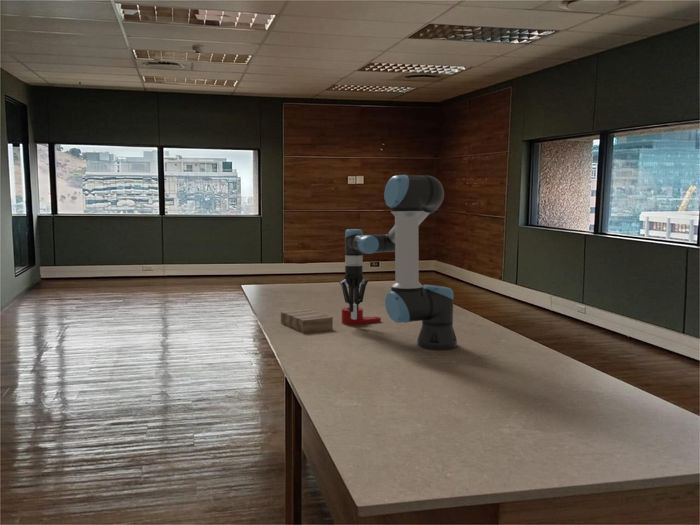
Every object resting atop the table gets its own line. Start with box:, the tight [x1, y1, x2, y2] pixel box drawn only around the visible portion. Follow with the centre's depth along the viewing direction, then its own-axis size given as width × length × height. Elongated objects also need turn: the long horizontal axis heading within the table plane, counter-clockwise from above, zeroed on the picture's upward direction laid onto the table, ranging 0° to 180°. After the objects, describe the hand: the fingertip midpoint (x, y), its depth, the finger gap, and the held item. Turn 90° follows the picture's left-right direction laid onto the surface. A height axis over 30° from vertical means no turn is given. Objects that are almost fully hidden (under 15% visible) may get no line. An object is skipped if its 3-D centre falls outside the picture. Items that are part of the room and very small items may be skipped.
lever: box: [341, 306, 382, 326], centre depth 282 cm, size 18×9×7 cm, turn 105°
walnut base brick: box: [280, 308, 334, 333], centre depth 272 cm, size 22×14×6 cm, turn 31°
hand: (353, 318), depth 273 cm, fingers closed
